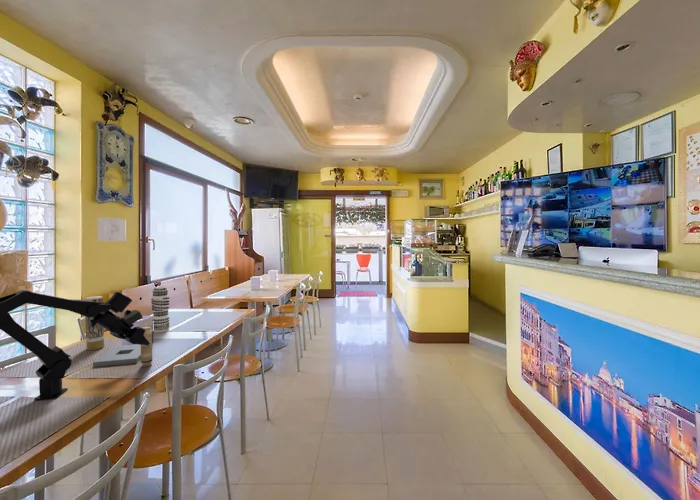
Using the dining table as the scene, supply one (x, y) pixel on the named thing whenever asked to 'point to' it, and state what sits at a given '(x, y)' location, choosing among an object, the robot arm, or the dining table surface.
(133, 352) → the grey peg hole board
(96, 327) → the grey patterned cylinder
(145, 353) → the beech peg
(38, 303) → the robot arm
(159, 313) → the decorative candle
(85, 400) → the dining table surface
